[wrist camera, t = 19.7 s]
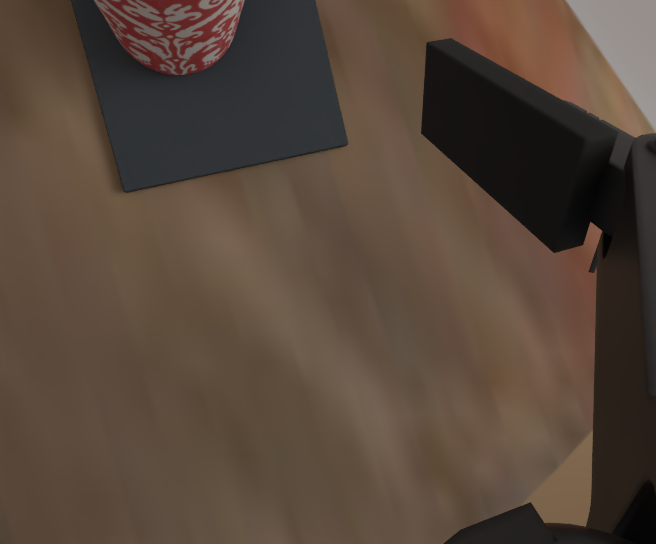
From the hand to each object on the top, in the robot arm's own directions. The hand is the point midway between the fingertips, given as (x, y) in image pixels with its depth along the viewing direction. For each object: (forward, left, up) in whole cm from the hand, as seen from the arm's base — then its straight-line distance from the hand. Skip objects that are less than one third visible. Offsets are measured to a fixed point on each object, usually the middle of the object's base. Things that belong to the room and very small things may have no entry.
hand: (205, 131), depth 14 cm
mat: (-11, +3, -19) cm, 22 cm away
